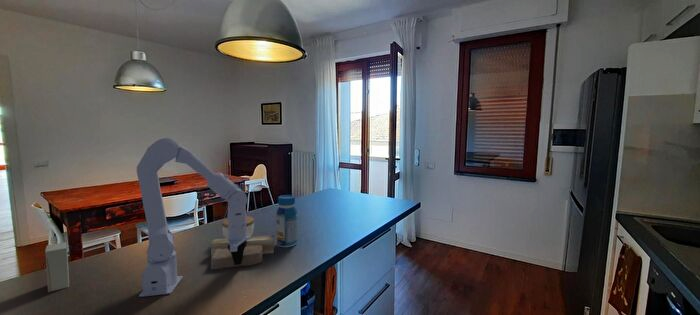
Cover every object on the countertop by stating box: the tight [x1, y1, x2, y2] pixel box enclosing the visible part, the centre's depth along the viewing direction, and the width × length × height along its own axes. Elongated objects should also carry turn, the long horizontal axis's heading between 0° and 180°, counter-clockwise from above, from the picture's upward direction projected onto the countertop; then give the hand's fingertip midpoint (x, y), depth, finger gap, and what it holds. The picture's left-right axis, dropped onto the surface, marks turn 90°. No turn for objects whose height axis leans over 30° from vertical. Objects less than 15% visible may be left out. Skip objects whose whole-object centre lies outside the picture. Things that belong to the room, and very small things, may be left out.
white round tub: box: [221, 215, 255, 239], centre depth 117 cm, size 13×13×11 cm
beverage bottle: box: [275, 194, 298, 248], centre depth 114 cm, size 8×8×20 cm
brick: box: [210, 244, 264, 270], centre depth 99 cm, size 17×8×5 cm, turn 106°
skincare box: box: [45, 241, 70, 293], centre depth 82 cm, size 6×4×12 cm
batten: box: [210, 235, 275, 259], centre depth 106 cm, size 4×22×6 cm, turn 102°
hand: (238, 263), depth 94 cm, fingers closed
